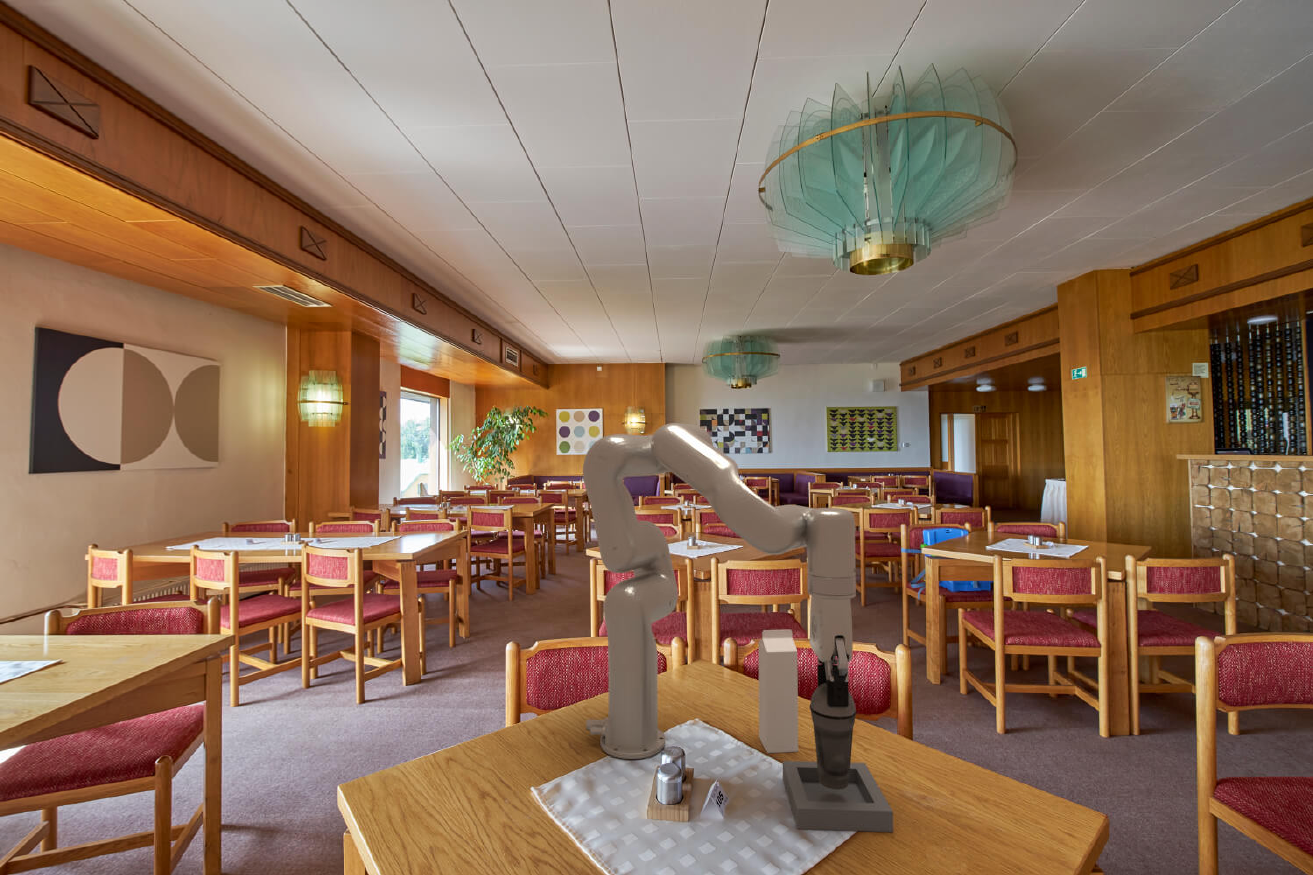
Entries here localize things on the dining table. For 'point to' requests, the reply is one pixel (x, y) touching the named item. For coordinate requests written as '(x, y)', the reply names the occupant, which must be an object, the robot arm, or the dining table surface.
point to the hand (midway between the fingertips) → (832, 696)
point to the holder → (836, 800)
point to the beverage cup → (832, 737)
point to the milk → (778, 692)
